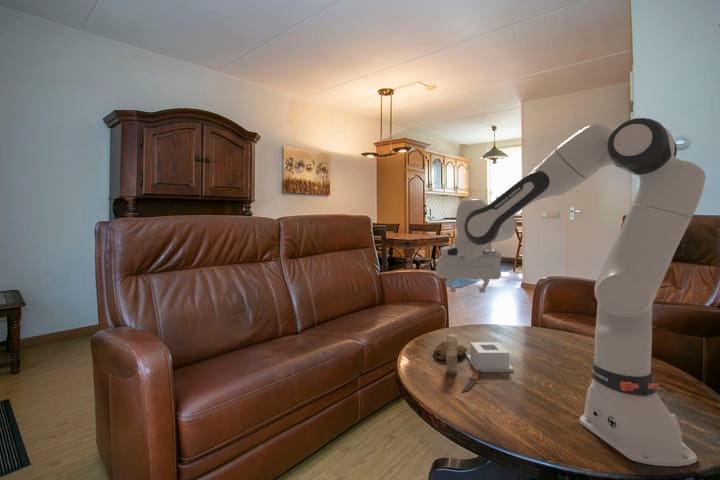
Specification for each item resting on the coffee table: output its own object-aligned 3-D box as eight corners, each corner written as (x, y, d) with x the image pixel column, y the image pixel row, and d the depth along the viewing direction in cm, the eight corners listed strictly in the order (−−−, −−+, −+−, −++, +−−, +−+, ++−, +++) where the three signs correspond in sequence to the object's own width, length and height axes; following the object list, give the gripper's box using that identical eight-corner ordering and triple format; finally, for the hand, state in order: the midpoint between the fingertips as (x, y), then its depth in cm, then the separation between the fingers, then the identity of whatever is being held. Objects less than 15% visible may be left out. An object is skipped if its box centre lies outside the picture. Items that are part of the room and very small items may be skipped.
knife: (472, 392, 104) (461, 390, 105) (472, 396, 104) (461, 393, 105) (484, 371, 118) (474, 369, 120) (484, 374, 118) (474, 372, 120)
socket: (513, 371, 119) (513, 353, 119) (476, 371, 119) (476, 353, 119) (500, 357, 131) (500, 341, 131) (466, 357, 131) (466, 341, 131)
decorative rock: (459, 367, 125) (469, 354, 138) (460, 355, 125) (470, 343, 138) (427, 359, 130) (439, 347, 143) (428, 348, 130) (440, 337, 143)
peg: (458, 373, 118) (458, 337, 117) (447, 373, 118) (447, 337, 117) (455, 369, 121) (456, 334, 121) (445, 369, 121) (445, 334, 121)
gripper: (498, 249, 120) (496, 290, 121) (435, 248, 121) (434, 289, 122) (505, 251, 114) (503, 295, 115) (439, 250, 115) (437, 293, 116)
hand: (467, 292), depth 119 cm, fingers open, 8 cm apart
